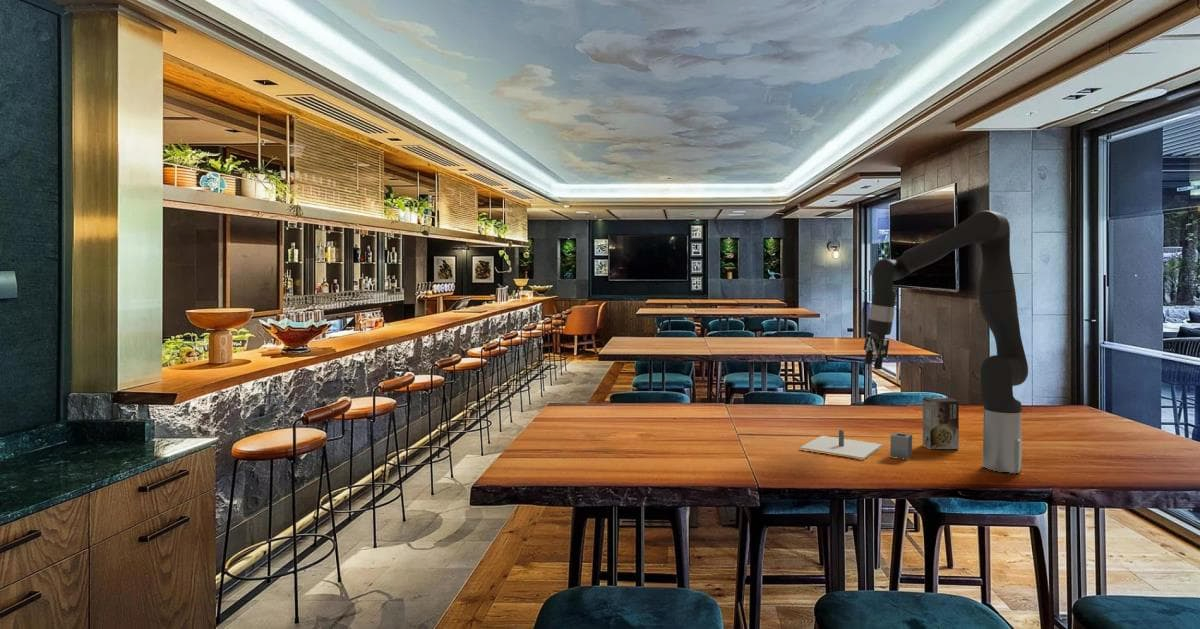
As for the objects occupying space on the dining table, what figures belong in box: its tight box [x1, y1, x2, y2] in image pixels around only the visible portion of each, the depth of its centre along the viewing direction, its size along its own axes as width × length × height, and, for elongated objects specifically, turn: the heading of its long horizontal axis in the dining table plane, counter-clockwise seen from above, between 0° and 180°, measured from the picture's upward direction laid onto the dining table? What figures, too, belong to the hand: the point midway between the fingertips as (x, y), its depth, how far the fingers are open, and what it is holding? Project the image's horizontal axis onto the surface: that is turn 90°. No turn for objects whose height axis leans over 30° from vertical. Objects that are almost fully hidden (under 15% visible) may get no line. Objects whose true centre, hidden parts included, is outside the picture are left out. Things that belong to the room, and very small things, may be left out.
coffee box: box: [922, 397, 960, 450], centre depth 207 cm, size 9×6×16 cm
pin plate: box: [799, 429, 883, 460], centre depth 207 cm, size 20×20×6 cm
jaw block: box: [889, 432, 913, 459], centre depth 196 cm, size 5×5×7 cm
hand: (872, 366), depth 213 cm, fingers open, 8 cm apart
